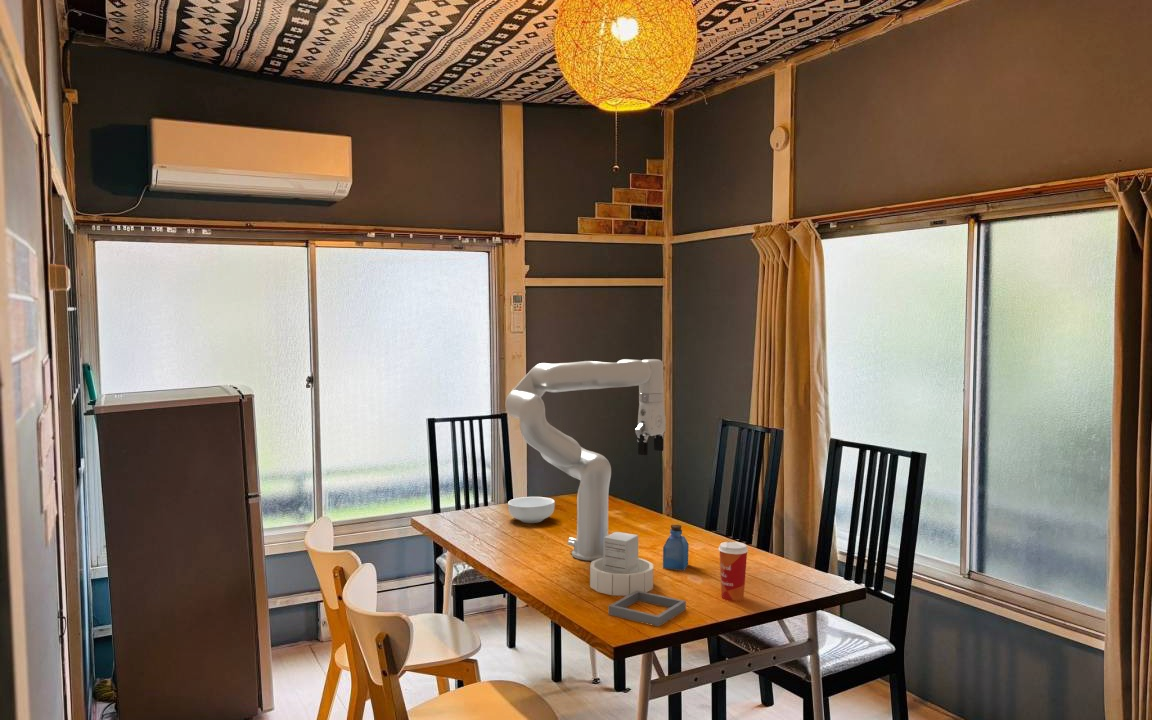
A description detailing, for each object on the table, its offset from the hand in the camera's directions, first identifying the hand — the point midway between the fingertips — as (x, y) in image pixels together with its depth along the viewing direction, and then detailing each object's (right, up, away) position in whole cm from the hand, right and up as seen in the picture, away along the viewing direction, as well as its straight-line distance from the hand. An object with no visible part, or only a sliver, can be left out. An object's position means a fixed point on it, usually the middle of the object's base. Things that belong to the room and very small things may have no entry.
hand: (650, 452), depth 261 cm
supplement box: (-11, -31, -35) cm, 49 cm away
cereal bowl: (-40, -29, +36) cm, 61 cm away
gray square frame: (-6, -33, -56) cm, 65 cm away
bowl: (-11, -32, -35) cm, 49 cm away
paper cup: (+17, -33, -45) cm, 59 cm away
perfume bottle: (+6, -32, -18) cm, 37 cm away
